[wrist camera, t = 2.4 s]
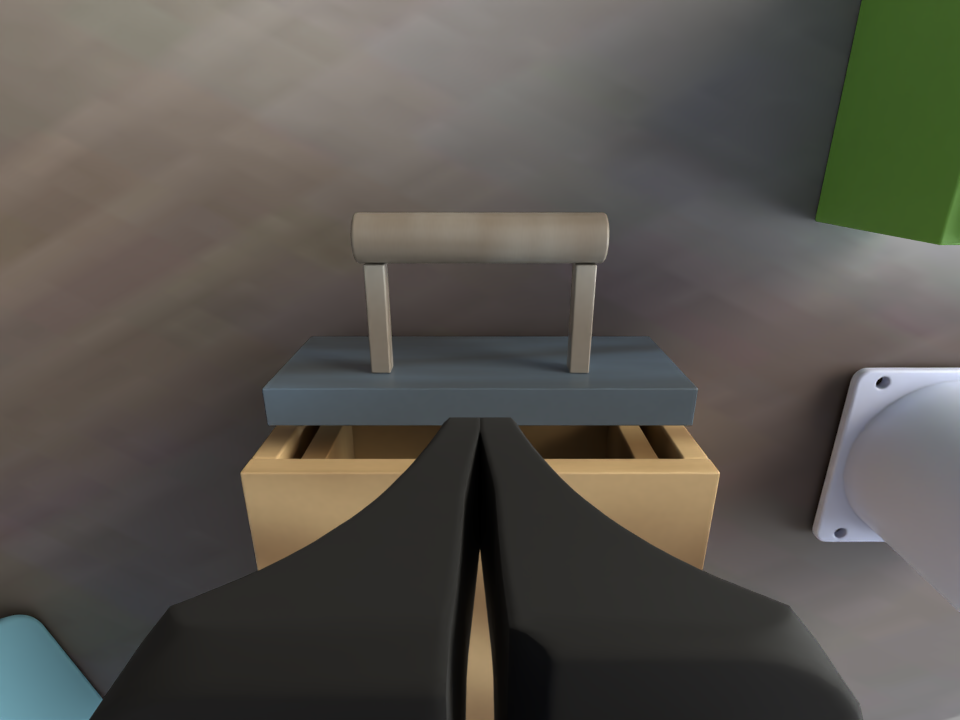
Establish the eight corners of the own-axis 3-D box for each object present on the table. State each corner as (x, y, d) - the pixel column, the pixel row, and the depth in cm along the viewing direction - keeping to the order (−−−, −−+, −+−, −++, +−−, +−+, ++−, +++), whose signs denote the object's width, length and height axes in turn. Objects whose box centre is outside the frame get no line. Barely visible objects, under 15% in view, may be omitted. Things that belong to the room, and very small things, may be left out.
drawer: (295, 202, 18) (234, 218, 14) (664, 202, 18) (725, 217, 14) (350, 682, 26) (324, 792, 21) (609, 682, 26) (636, 792, 21)
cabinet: (308, 381, 21) (239, 472, 15) (651, 381, 21) (721, 472, 15) (348, 713, 28) (311, 871, 22) (611, 713, 28) (648, 871, 22)
